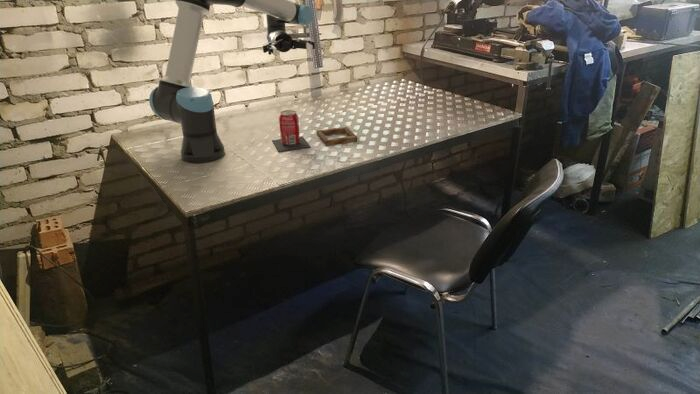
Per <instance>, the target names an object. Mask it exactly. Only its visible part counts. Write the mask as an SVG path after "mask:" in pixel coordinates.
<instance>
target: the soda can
mask: <svg viewBox="0 0 700 394" xmlns="http://www.w3.org/2000/svg"><path fill="white" fill-rule="evenodd" d="M278 119H279V120H278V121H279V124H278V125H279V132H280V133H279V134H280V139H281V142H282V143H283V144H284V145H287V146H292V145H296V144H297V143H298V142H299V137H301V136H300V124H299V116H298V114H297V111H296V110H292V109H285V110H282V111H281V112H280V115H279V118H278Z"/></svg>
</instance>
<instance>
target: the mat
mask: <svg viewBox="0 0 700 394" xmlns="http://www.w3.org/2000/svg"><path fill="white" fill-rule="evenodd" d="M271 141H272V144H273V146H274V147H275V149H276V151H277V152H278V153H283V152H292V151H298V150H305V149H306V150H307V149H311V146H310V143H308V142H307V140H306V138H304V136H300V137H299V142H298V143H297V144H296V145H292V146H287V145H284V144H283V143H282V142H281V138H280V139H272V140H271Z"/></svg>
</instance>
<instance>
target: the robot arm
mask: <svg viewBox="0 0 700 394" xmlns="http://www.w3.org/2000/svg"><path fill="white" fill-rule="evenodd" d="M174 2H175V4H176V6H177V7H178V11H177V15H176V21H175V25H174V26H175V27H174V31H173V35H172V38H171V39H172V40H171V45H170V50H169V56H168V60H167V65H166V69H165V75H164V76H162V77H161V78H160V79H159V83H158V86H155V88H154V89H152V91H150V95H149V99H148V101H149V103H148V104H149V107H150V109H151V111H152V112H153V113H154V115H156V116H157V117H159V118H161V119H163V120H164V121H169V122H173V123H177V124H180V126H181V132H182V142H181V148H180V156H181V159H182V161H184V162H187V163H192V164H202V163H203V164H204V163H208V162H213V161H217V160H219V159H221V158H222V157H224V156H225V154H226V150H225V146H224V144H223V142H222V140H221V138H220V136H219V134H218V131H217V124H216V123H217V121H216V117H215V108H214V107H215V105H214V100H213V95H212V94H211V92H210V90H207V89H205V88H201V87H194V86H193V85H192V84H191V78H192V74H193V68H194V65H195V58H196V55H197V54H196V53H197V49H198V44H199V40H200V35H201V29H202V25H203V21H204V16H206V15H207V14H209V13H210V8H211V5H223V6H230V7H234V8H241V7H244V8H246V9H250V10H252V11H255V12H259V13H261V14H265V17H266V29H267V32H266V40H267V42H266V43H265V44H264V45H262V52H263V53H265V54H266V53H267V52H268V55H269V56H270V55H271V56H272V54H273V56H274V57H277V56H278V52H279V53H288V52H290V50H297V49H300V50H301V49H302V50H306V51H307V52H309V53H310V54H313V53H314V50H315V49H316V44H315V43H316V42H315V41H311V40H305V39H302V38H298V40H297V39H293V38H292V36H291V35H290V34H288V33H287V31H286V24H288V25H289V24H291V25H298V26H308V25H310V24H311V23H312V21H313V17H314V12H313V10H312V8H311V7H310V5H305V4H299V3H297V2H293V1H290V0H175V1H174Z"/></svg>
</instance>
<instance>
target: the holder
mask: <svg viewBox="0 0 700 394" xmlns="http://www.w3.org/2000/svg"><path fill="white" fill-rule="evenodd" d="M341 134H345V135H346V136H343V137H335V138H328V137H327V136H334V135H341ZM316 136H317V137H318V139H319V140H320V141H321V142H322V143H323V145H324V146H325V147H330V146H334V145H335V146H337V145H344V144H345V145H346V144H351V143H358V135H356V134H355V133H354V132H353V131H352V130H351V129H350V128H349V127H348V126H343V127H333V128H327V129H318V130H316Z"/></svg>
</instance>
